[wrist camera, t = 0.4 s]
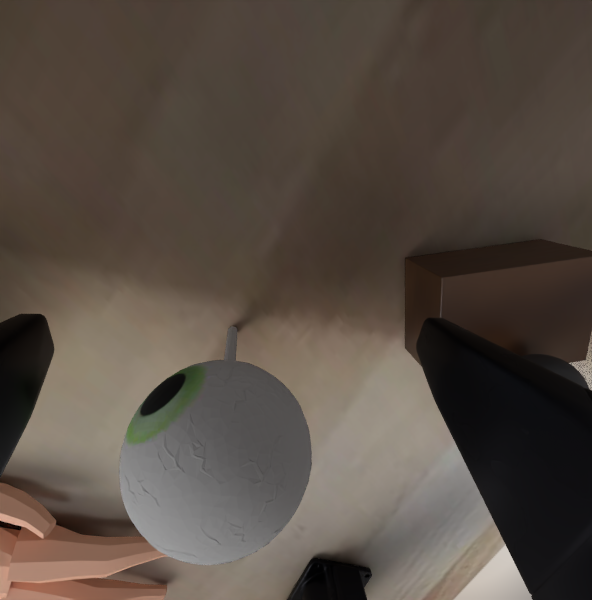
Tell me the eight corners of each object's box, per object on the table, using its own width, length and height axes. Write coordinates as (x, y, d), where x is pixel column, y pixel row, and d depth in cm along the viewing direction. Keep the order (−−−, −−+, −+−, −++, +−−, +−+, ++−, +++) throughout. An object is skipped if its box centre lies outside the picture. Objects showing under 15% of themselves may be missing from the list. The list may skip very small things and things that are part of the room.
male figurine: (150, 649, 30) (-275, 640, 21) (159, 583, 34) (-189, 554, 26) (197, 560, 27) (-269, 510, 19) (200, 501, 31) (-173, 441, 23)
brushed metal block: (529, 328, 28) (586, 360, 23) (404, 348, 27) (437, 385, 22) (541, 239, 25) (607, 254, 21) (405, 257, 24) (441, 277, 20)
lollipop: (244, 260, 23) (236, 396, 9) (303, 340, 26) (370, 543, 12) (157, 320, 24) (24, 535, 10) (223, 392, 26) (193, 646, 12)
